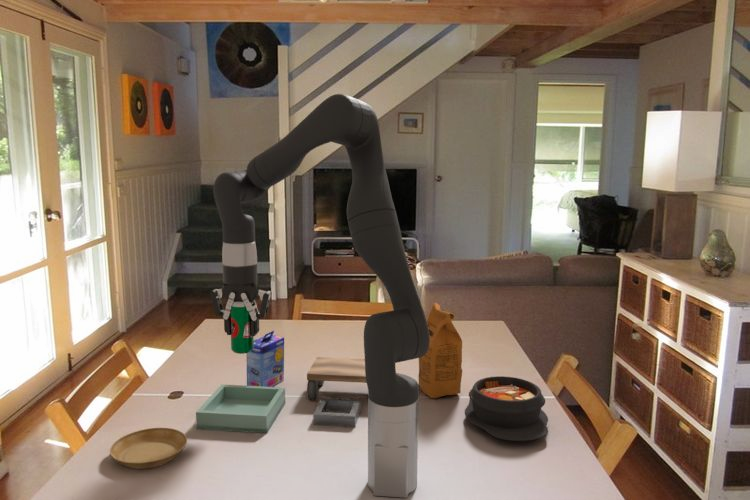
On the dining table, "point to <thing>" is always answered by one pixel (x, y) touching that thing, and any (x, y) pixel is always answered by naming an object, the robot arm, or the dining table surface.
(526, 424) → the casserole
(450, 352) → the coffee package
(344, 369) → the trolley
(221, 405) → the tray
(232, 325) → the soda can
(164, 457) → the plant saucer
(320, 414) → the frame
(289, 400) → the dining table surface
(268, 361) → the ink cartridge box
